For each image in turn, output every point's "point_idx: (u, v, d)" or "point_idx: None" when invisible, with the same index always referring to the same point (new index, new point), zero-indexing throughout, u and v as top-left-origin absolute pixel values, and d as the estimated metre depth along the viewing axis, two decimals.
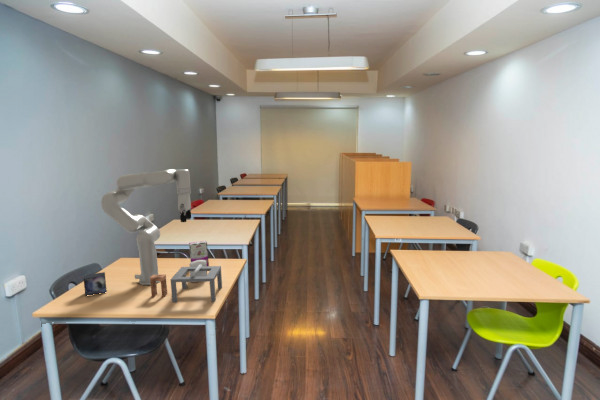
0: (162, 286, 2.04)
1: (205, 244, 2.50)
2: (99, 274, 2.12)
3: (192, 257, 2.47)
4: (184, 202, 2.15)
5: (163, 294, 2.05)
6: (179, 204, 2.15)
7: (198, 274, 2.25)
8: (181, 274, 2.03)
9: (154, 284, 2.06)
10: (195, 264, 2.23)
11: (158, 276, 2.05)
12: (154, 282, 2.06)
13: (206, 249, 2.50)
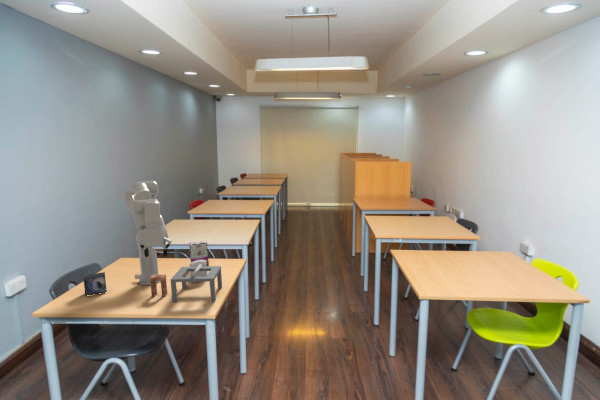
0: (162, 286, 2.04)
1: (205, 244, 2.50)
2: (99, 274, 2.12)
3: (192, 257, 2.47)
4: (164, 234, 2.03)
5: (163, 294, 2.05)
6: (163, 238, 2.00)
7: (198, 274, 2.25)
8: (181, 274, 2.03)
9: (154, 284, 2.06)
10: (195, 264, 2.23)
11: (158, 276, 2.05)
12: (154, 282, 2.06)
13: (206, 249, 2.50)
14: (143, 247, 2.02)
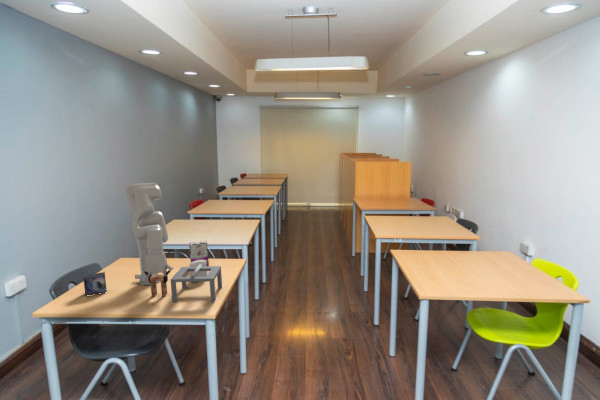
0: (162, 286, 2.04)
1: (205, 244, 2.50)
2: (99, 274, 2.12)
3: (192, 257, 2.47)
4: (166, 260, 2.05)
5: (163, 294, 2.05)
6: (165, 264, 2.03)
7: (198, 274, 2.25)
8: (181, 274, 2.03)
9: (154, 284, 2.06)
10: (195, 264, 2.23)
11: (158, 276, 2.05)
12: (154, 282, 2.06)
13: (206, 249, 2.50)
14: (147, 274, 2.04)
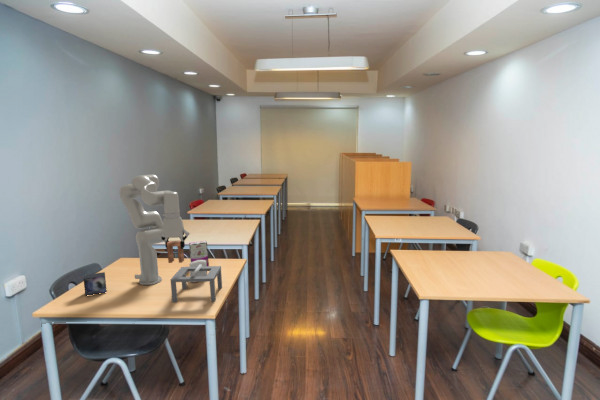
0: (179, 251, 2.01)
1: (205, 244, 2.50)
2: (99, 274, 2.12)
3: (192, 257, 2.47)
4: None
5: (180, 260, 2.01)
6: (182, 228, 1.99)
7: (198, 274, 2.25)
8: (181, 274, 2.03)
9: (171, 250, 2.03)
10: (195, 264, 2.23)
11: (175, 241, 2.01)
12: (171, 248, 2.02)
13: (206, 249, 2.50)
14: (164, 239, 2.01)
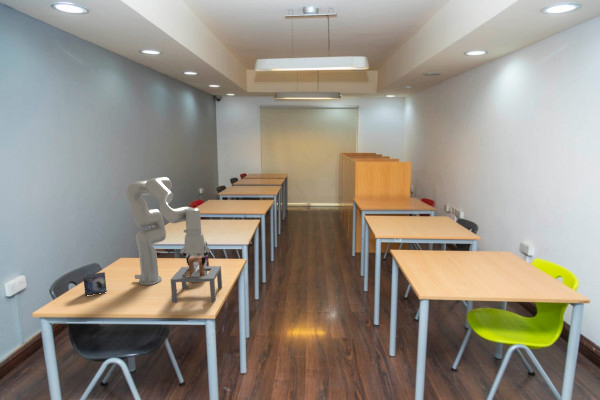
0: (200, 267, 2.02)
1: (205, 244, 2.50)
2: (99, 274, 2.12)
3: None
4: (204, 241, 2.04)
5: None
6: (203, 245, 2.01)
7: (198, 274, 2.25)
8: (181, 274, 2.03)
9: (192, 266, 2.04)
10: (195, 264, 2.23)
11: (196, 257, 2.03)
12: (192, 263, 2.04)
13: None
14: (185, 255, 2.03)
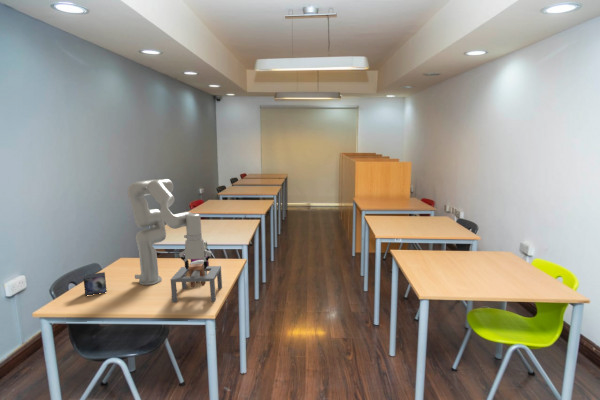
0: (201, 275, 2.03)
1: (205, 244, 2.50)
2: (99, 274, 2.12)
3: None
4: (204, 247, 2.04)
5: (202, 283, 2.04)
6: (203, 250, 2.02)
7: (198, 274, 2.25)
8: (181, 274, 2.03)
9: None
10: None
11: (196, 265, 2.04)
12: (192, 272, 2.05)
13: (206, 249, 2.50)
14: (184, 259, 2.03)
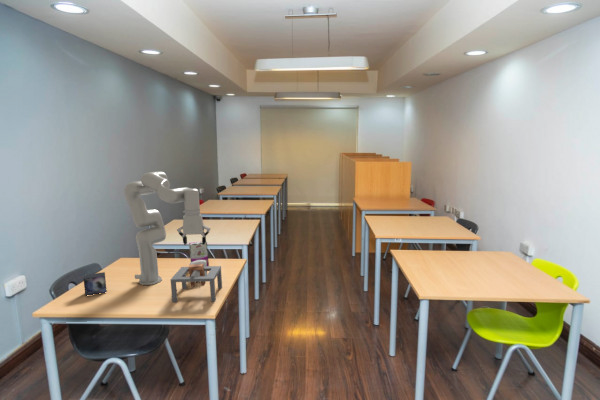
0: (200, 275, 2.03)
1: (205, 244, 2.50)
2: (99, 274, 2.12)
3: (192, 257, 2.47)
4: None
5: (202, 283, 2.04)
6: (202, 225, 1.99)
7: (198, 274, 2.25)
8: (181, 274, 2.03)
9: None
10: None
11: (196, 265, 2.04)
12: (192, 272, 2.05)
13: (206, 249, 2.50)
14: (182, 235, 2.01)
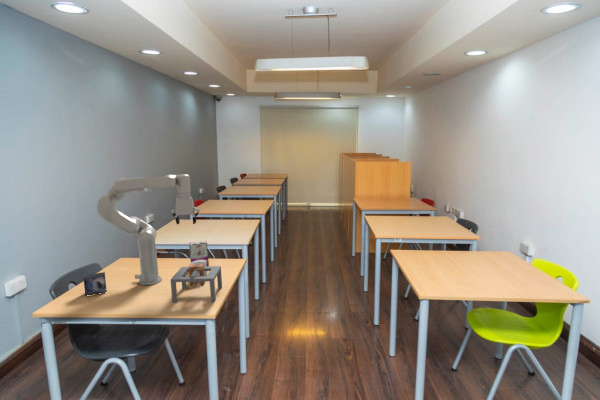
0: (200, 275, 2.03)
1: (205, 244, 2.50)
2: (99, 274, 2.12)
3: (192, 257, 2.47)
4: (193, 204, 2.28)
5: (201, 283, 2.04)
6: (192, 207, 2.25)
7: (198, 274, 2.25)
8: (181, 274, 2.03)
9: None
10: None
11: (196, 265, 2.04)
12: (192, 271, 2.05)
13: (206, 249, 2.50)
14: None
